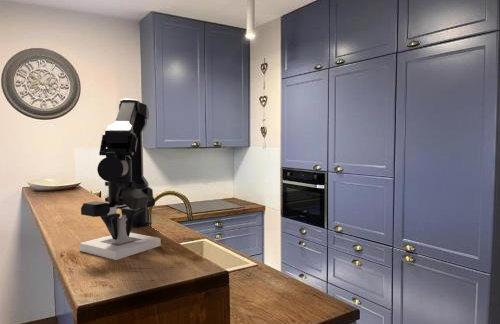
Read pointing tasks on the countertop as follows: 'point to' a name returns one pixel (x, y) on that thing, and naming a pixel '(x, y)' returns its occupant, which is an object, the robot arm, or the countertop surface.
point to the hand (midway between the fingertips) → (121, 237)
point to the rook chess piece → (121, 231)
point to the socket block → (120, 246)
